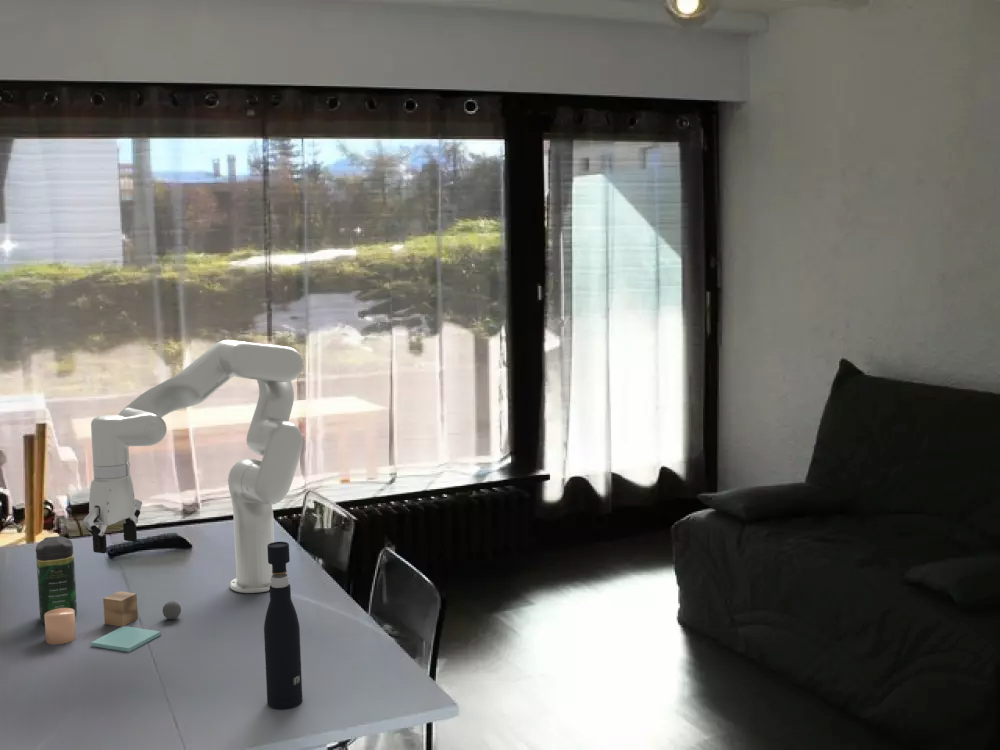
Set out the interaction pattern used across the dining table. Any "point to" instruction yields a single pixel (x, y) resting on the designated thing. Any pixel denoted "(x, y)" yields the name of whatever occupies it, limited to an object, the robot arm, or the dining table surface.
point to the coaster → (126, 638)
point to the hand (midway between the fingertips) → (115, 546)
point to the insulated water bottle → (282, 636)
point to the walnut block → (120, 608)
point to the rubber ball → (171, 610)
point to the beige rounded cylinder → (60, 626)
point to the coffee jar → (56, 574)
